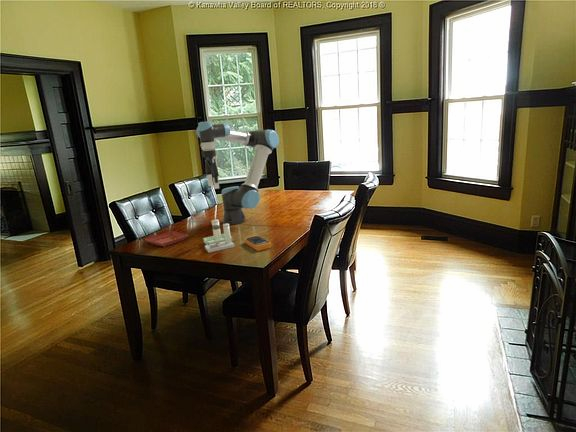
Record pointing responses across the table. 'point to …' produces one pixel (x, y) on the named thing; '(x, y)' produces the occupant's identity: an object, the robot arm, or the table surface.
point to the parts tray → (211, 241)
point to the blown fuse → (216, 229)
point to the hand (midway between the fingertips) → (213, 187)
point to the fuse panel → (218, 246)
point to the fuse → (227, 233)
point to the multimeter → (258, 243)
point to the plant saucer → (166, 240)
